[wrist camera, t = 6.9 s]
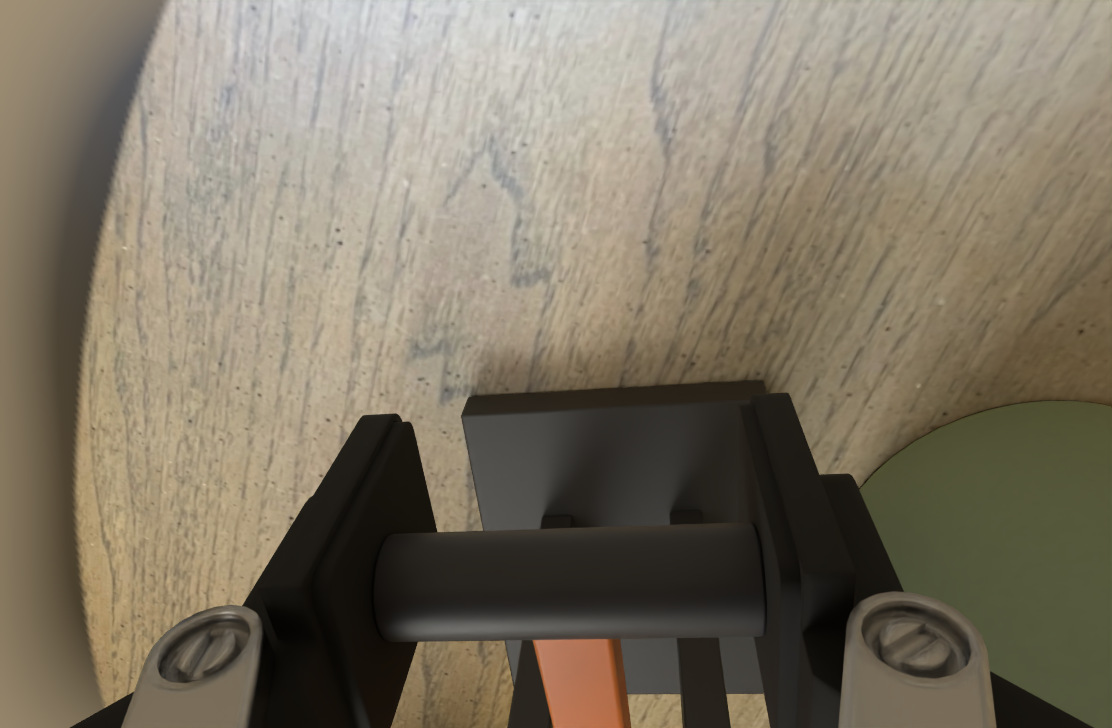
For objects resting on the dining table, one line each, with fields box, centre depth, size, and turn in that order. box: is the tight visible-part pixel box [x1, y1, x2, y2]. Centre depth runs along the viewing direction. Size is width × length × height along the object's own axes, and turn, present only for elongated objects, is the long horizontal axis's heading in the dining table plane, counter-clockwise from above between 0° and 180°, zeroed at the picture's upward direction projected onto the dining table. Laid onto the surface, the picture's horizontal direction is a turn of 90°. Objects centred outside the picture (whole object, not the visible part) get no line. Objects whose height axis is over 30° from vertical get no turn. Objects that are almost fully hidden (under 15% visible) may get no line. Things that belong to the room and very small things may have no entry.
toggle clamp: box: [461, 380, 767, 728], centre depth 20 cm, size 12×9×13 cm
